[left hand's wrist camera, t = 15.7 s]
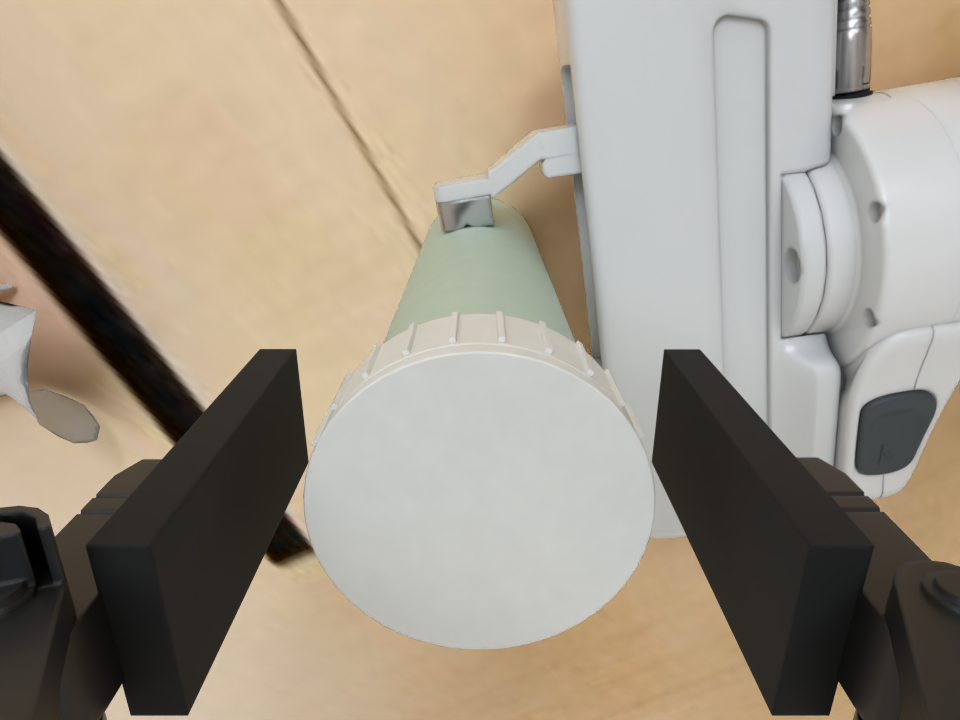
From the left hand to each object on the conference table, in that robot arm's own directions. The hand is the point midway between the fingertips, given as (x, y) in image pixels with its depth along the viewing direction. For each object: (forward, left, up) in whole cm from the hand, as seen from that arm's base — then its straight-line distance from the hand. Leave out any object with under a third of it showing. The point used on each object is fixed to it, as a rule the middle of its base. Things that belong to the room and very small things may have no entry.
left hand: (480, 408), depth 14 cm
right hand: (-1, 0, -9) cm, 9 cm away
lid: (0, 0, +4) cm, 4 cm away
